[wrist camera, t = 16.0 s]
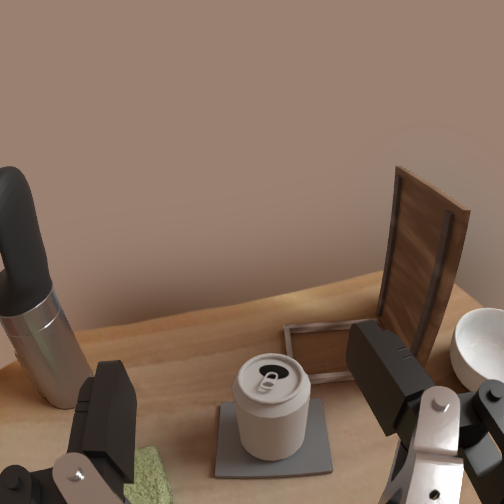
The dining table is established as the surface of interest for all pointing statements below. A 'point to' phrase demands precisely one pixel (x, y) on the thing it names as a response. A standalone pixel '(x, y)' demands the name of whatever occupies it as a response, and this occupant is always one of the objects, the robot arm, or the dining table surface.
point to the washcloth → (148, 479)
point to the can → (271, 405)
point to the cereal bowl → (478, 347)
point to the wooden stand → (411, 269)
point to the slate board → (299, 464)
